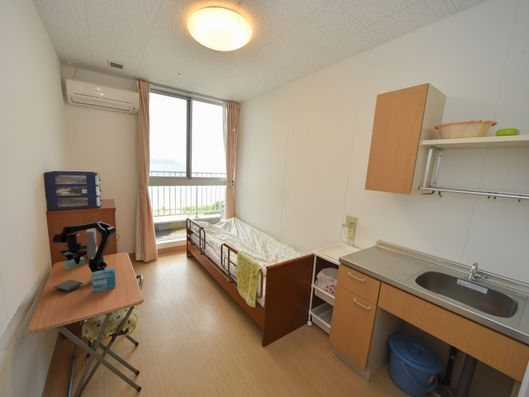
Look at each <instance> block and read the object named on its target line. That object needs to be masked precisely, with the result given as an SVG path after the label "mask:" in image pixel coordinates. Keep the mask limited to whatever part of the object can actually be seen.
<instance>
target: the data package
mask: <svg viewBox="0 0 529 397" xmlns="http://www.w3.org/2000/svg"><path fill="white" fill-rule="evenodd" d="M90 279H91V288H92V292H94V293H97V292H103V291H106V290H110V289H111V290H112V289H115V287H116V284H117V279H116V271H115V269H114V268H108V269H105V270H101V271H96V272H92V274H91V278H90Z"/></svg>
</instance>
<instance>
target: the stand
mask: <svg viewBox="0 0 529 397" xmlns="http://www.w3.org/2000/svg"><path fill="white" fill-rule="evenodd" d="M83 284H84V282H82V281H77V280H74V279H67V280H65V281H63V282H61V283H57V284H56V285H55V284H54V286H53V288H55V289H57V290H59V291H61V292H62V291H63V292H66V293H70V292H72V291H74V290H77V289H78V288H81V285H83Z"/></svg>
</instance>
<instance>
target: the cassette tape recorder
mask: <svg viewBox="0 0 529 397" xmlns="http://www.w3.org/2000/svg"><path fill="white" fill-rule="evenodd" d="M96 230H97V229H96V228H92V229H87V230H85V239H86V245H88V246H87V249H86V251H87V257H88V259H87V260H88V261H90V259H91V258H92V257H94V256H95V255H96V252H97V250H98V247H99V246H98V239H97V238H98V237H97V231H96Z"/></svg>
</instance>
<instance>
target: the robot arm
mask: <svg viewBox="0 0 529 397" xmlns="http://www.w3.org/2000/svg"><path fill="white" fill-rule="evenodd" d="M92 228H95V229H96V230H97V231H98V233H99V234H100V237H101V240H100V243H99V245H98V246H97V247H98V250H97V252H96V255H95V256H94V257H92V258H91V259H90V260H88V261H89V262H88V263H87V264H88V265H87V266H88V267H89V269H90V272H91V273H93V272H96V271H101V270H106V268H107V266H108V263H106V262H105V259H104V255H105V253H106V250H107V247H108V246H109V245H108V244H109V242H110V240H111V239H112V238H113V236H114V235H115V234H116V232H117V229H116V228H115V227H114V226H112V225H110V224H107V223H104V222H103V221H100V220H98V221H95V222H89V223H85V224H78V223H76V224H70V225H68V226H67V225H66V226H64V227H63V229H62V232H61V233H59V232H58V233H55V234H54V236H53V237H52V243H53V244H66V245H64V247H66V248H63V249H61V250H60V251H59V255H61V256H62V255H63V257H64V258H65V259H66V260H67V261H69V260H73V259H74V261H75V263H76V264H77V265H78V264H79V262H80V258H81V257H84V256H86V255H87V256H88V250H87V246H88V245H87V244H84V243H81V242H78V237H80V236H81V234H80V233H78V232H81V231H87V229H92ZM97 231H96V232H97Z"/></svg>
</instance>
